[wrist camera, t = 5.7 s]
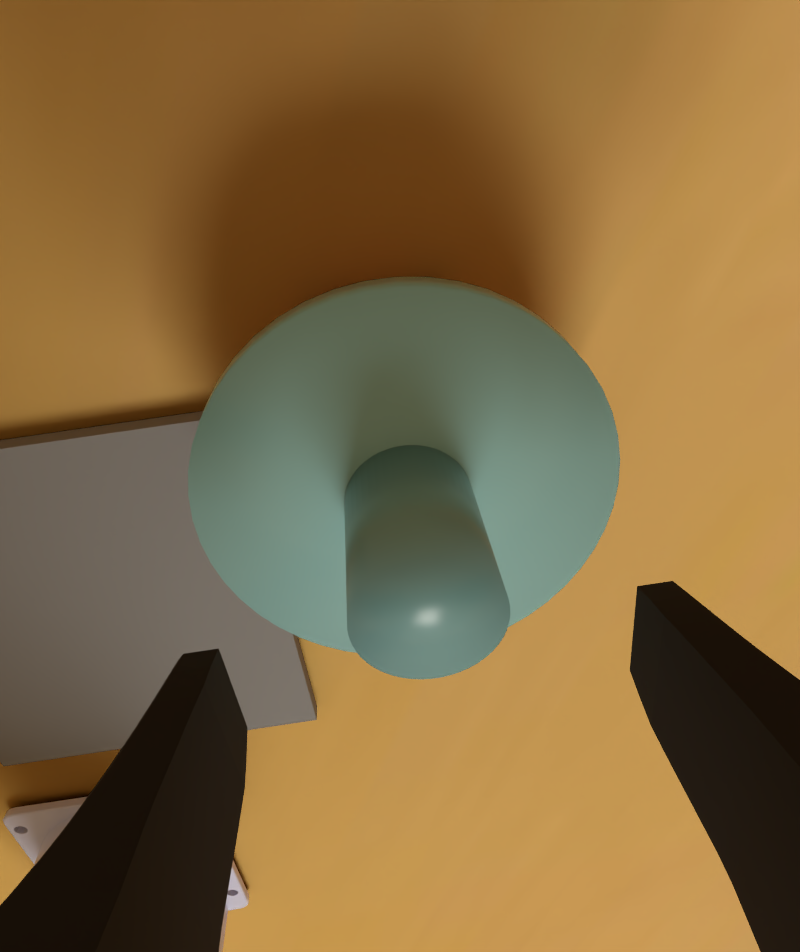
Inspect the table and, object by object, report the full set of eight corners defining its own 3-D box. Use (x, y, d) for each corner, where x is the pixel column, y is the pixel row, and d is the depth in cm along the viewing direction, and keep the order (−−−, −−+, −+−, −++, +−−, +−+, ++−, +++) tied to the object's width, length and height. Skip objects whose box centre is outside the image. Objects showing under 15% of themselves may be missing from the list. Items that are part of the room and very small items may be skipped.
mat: (316, 707, 26) (316, 719, 25) (9, 752, 26) (3, 766, 25) (234, 406, 19) (231, 415, 19) (-183, 466, 19) (-198, 477, 19)
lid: (586, 617, 19) (655, 765, 15) (234, 650, 19) (206, 812, 15) (634, 260, 14) (758, 338, 10) (148, 293, 13) (66, 390, 9)
